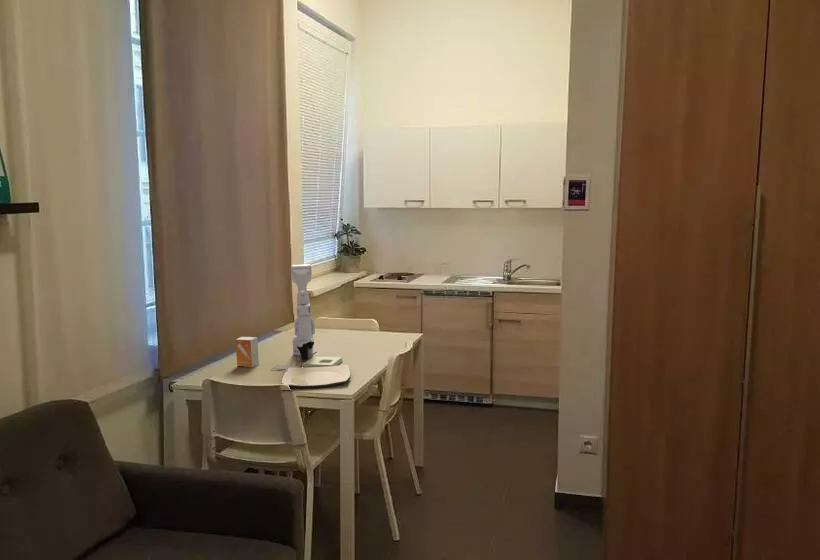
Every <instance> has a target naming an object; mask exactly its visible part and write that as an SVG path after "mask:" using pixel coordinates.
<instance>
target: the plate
mask: <svg viewBox="0 0 820 560" xmlns="http://www.w3.org/2000/svg"><path fill="white" fill-rule="evenodd" d="M298 375H299V376H300V375H303V376H301V377H302V378H301V380H303V378H304V377H305V379H304V380H305V381H306V382H307V383H308V385H297V384H294V383H292V382H291V379H292V378H294V377H295V376H298ZM350 377H351V371H350V367H349V365H348V364H338V365H337V366H328V367H310V368H288V370H287V371H285V373H284V374H283V376H282V379H281V384H282V383H284V384H288V385H289V386H291V387H290V388H320V387H321V388H322V387H329V386H335V385H341V384H346V382H348V381H349V380H350Z"/></svg>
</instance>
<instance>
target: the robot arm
mask: <svg viewBox="0 0 820 560" xmlns="http://www.w3.org/2000/svg"><path fill="white" fill-rule="evenodd" d="M290 271H291V272H290V274H291V280H292V283H294V284H296V286H297V289H298V290H297V291H298V292H297V293H296V304H297V305H296V317H297V318H296V319H294V322H293V323H294V325H293V326H294V335H295V336H293V338H292V350H293V351H292V353H293V354H292V356H300V358H301V357H302V360H307V354H308V348H312V355H314V354H316V353H317V350H314V345H315V339H314V335H315V334H316V329H315V327H316V326H315V320H314V318H313V317H311V316H312V307H311V303H310V293H309V292H308V291H307V289H308V288H307V286H308V283H310V282H312V265H311V264H310V263H308V264H307V263H306V264H292V265H291V266H290Z"/></svg>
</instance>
